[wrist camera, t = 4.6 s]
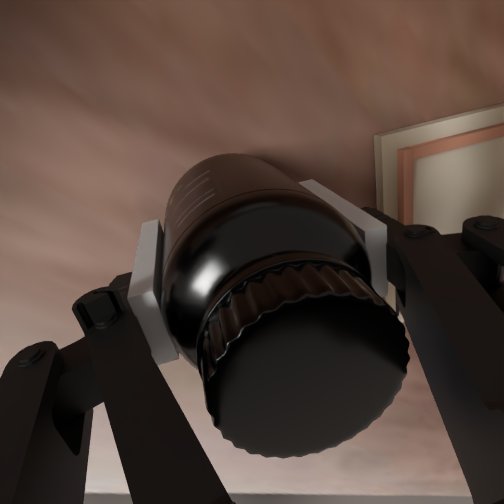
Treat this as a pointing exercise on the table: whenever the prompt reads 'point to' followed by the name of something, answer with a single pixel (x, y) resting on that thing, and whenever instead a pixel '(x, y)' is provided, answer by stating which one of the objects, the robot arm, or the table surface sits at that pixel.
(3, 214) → the table surface
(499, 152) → the board
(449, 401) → the robot arm
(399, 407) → the table surface
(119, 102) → the table surface
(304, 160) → the table surface
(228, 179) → the supplement bottle
